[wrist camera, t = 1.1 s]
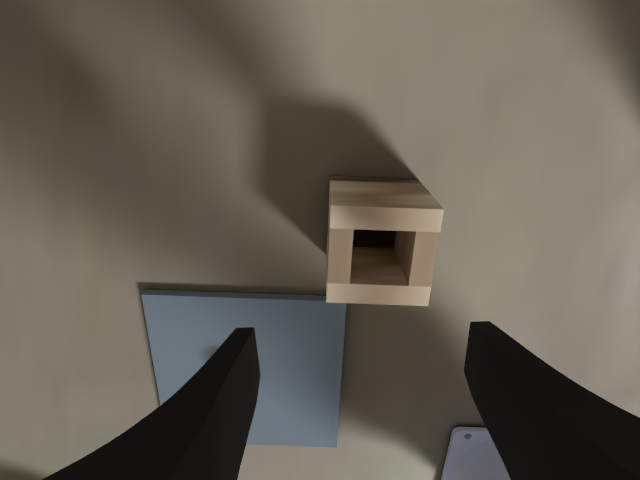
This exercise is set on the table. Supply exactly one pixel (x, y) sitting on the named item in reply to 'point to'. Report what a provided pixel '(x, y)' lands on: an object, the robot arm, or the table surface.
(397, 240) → the sleeve
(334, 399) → the pin plate
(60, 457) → the table surface
